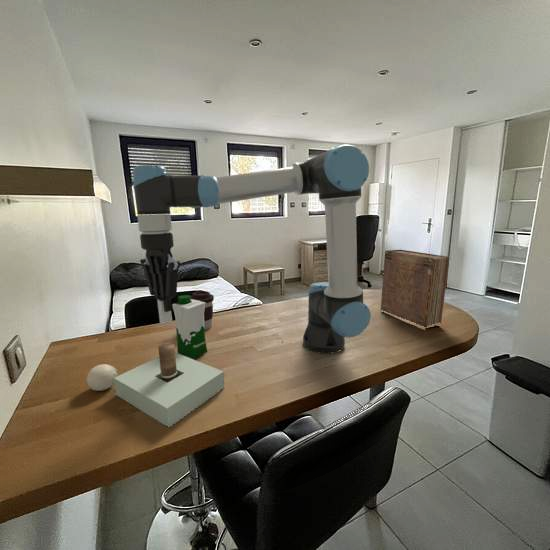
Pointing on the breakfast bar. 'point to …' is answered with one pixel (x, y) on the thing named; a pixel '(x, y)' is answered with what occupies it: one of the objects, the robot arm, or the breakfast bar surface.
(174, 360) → the peg
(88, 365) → the breakfast bar surface
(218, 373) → the board
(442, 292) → the book
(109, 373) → the baseball
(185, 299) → the milk carton
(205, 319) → the coffee cup
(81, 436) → the breakfast bar surface
